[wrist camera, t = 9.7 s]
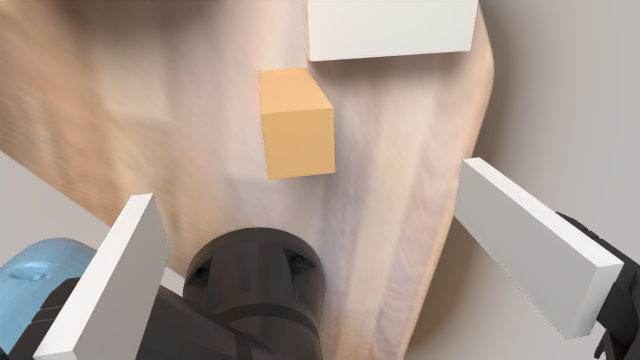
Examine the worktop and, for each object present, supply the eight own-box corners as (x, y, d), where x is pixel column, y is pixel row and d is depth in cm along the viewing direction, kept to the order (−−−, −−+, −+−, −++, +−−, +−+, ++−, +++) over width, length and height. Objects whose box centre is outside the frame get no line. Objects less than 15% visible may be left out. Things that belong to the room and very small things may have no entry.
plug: (308, 113, 32) (335, 172, 21) (264, 117, 31) (268, 179, 21) (306, 67, 30) (333, 107, 19) (258, 71, 29) (260, 113, 19)
